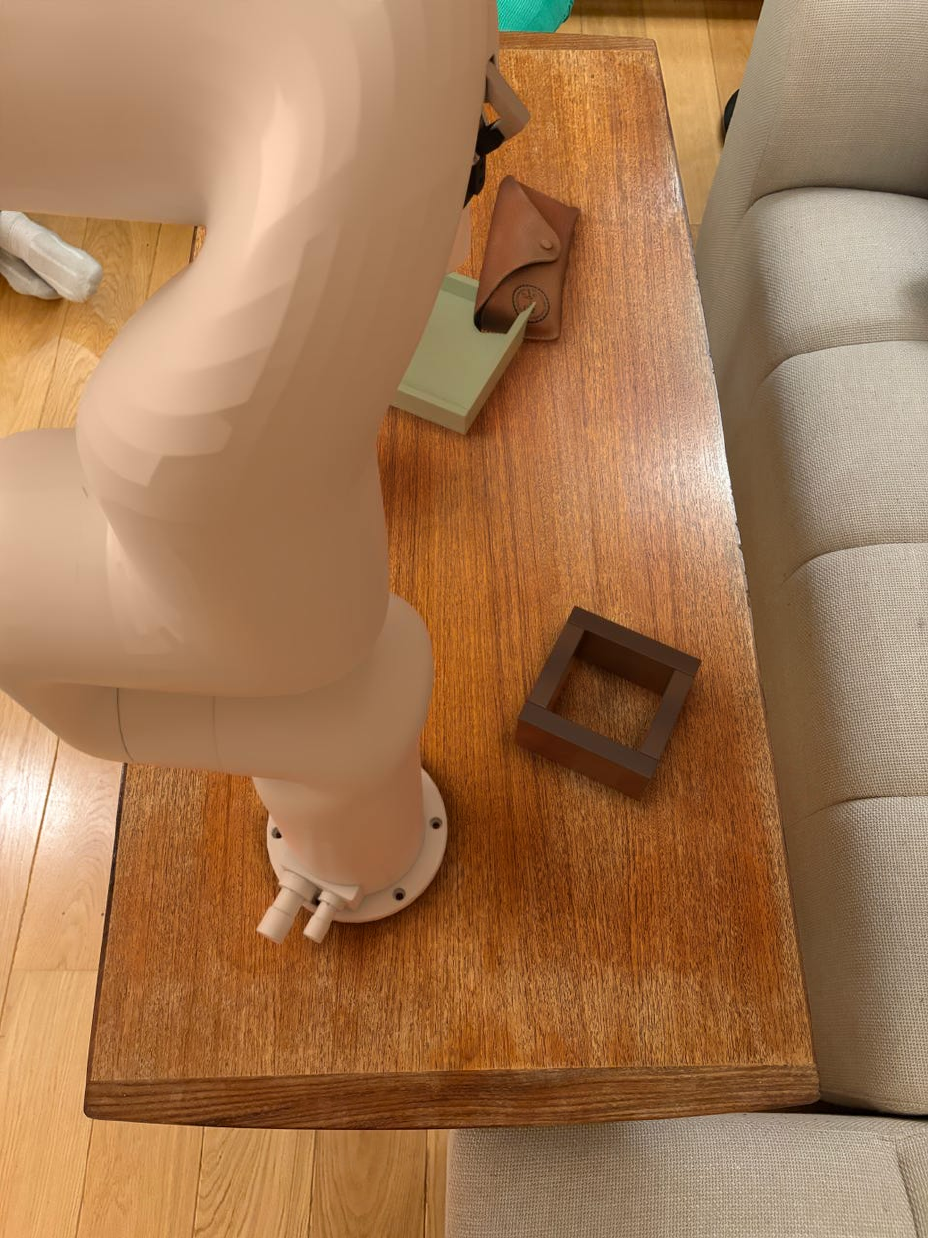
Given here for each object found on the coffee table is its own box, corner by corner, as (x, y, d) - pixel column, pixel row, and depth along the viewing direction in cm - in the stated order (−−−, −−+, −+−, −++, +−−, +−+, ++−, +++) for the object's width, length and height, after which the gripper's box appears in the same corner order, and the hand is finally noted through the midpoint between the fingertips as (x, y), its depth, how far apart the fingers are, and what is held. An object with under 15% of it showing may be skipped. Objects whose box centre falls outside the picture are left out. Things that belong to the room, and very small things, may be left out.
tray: (464, 435, 87) (465, 416, 85) (318, 376, 90) (315, 356, 88) (534, 322, 94) (536, 302, 91) (395, 270, 96) (394, 248, 94)
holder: (639, 801, 73) (651, 779, 68) (513, 743, 75) (517, 718, 70) (687, 687, 77) (702, 660, 72) (567, 634, 79) (574, 604, 74)
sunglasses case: (565, 340, 91) (532, 289, 87) (497, 360, 95) (462, 311, 90) (582, 204, 100) (553, 149, 95) (519, 226, 103) (488, 175, 98)
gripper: (260, -81, 60) (299, 175, 76) (524, 2, 57) (507, 251, 73) (323, -141, 63) (348, 116, 79) (577, -66, 60) (550, 187, 76)
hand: (424, 179), depth 76 cm, fingers closed on can, 6 cm apart
